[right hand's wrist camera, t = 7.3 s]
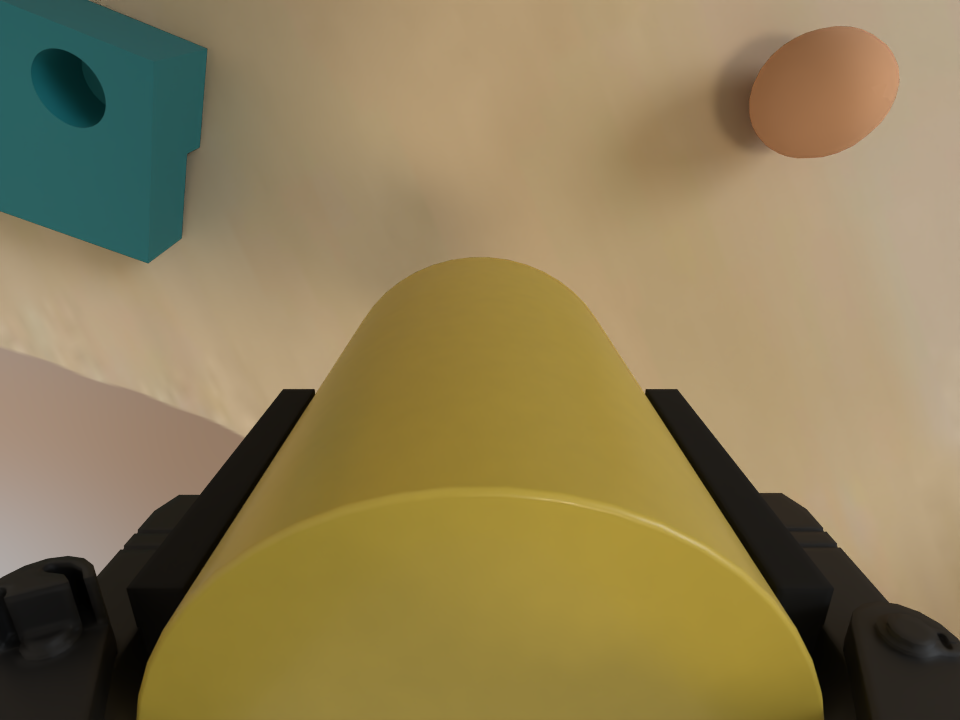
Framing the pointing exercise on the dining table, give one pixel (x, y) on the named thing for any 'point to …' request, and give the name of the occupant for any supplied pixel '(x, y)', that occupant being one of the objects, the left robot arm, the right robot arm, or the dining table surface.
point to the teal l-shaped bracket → (97, 123)
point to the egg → (823, 92)
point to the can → (480, 540)
